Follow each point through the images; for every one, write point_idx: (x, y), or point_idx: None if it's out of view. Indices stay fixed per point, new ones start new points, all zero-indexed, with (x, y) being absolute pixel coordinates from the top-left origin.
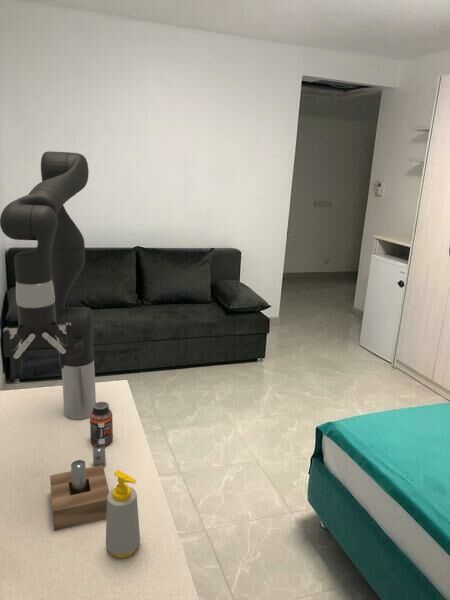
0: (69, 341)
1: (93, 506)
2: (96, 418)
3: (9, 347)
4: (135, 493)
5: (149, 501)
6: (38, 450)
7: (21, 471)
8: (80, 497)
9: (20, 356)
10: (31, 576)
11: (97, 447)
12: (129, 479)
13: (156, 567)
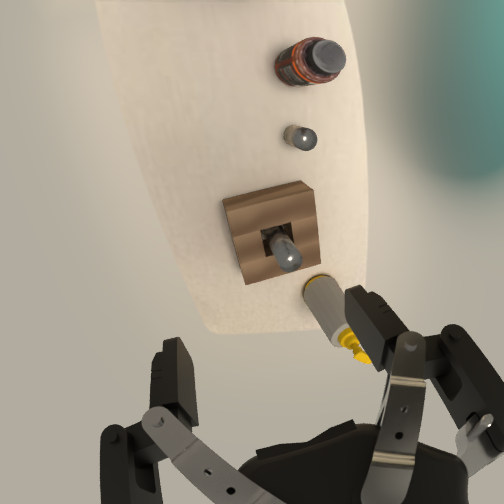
0: (450, 398)
1: None
2: (312, 78)
3: (159, 491)
4: None
5: (355, 223)
6: (175, 84)
7: (159, 144)
8: None
9: (185, 413)
10: (228, 319)
11: (303, 136)
12: (367, 361)
13: None
